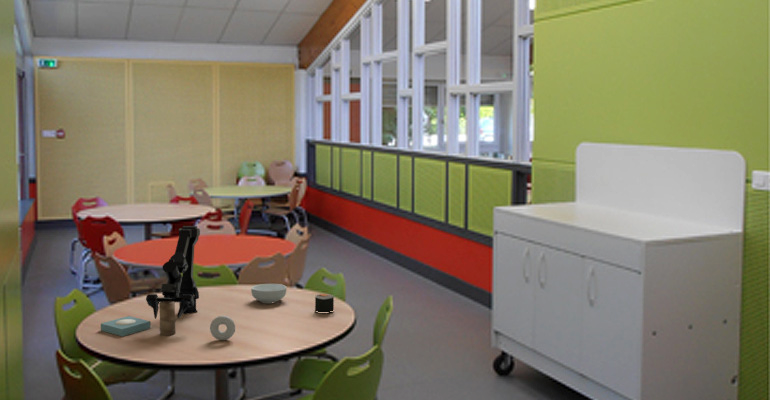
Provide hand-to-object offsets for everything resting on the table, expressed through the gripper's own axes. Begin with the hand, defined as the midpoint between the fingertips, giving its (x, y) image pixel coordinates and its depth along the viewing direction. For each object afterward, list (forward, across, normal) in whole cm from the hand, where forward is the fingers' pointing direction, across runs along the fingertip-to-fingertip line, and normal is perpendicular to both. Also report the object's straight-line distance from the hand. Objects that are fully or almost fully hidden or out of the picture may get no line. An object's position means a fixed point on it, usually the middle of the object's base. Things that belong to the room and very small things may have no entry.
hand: (166, 318), depth 297 cm
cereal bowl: (-33, +34, +43) cm, 64 cm away
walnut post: (+4, 0, +6) cm, 7 cm away
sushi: (-21, +62, +31) cm, 72 cm away
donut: (+10, +24, 0) cm, 26 cm away
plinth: (0, -19, +10) cm, 21 cm away
